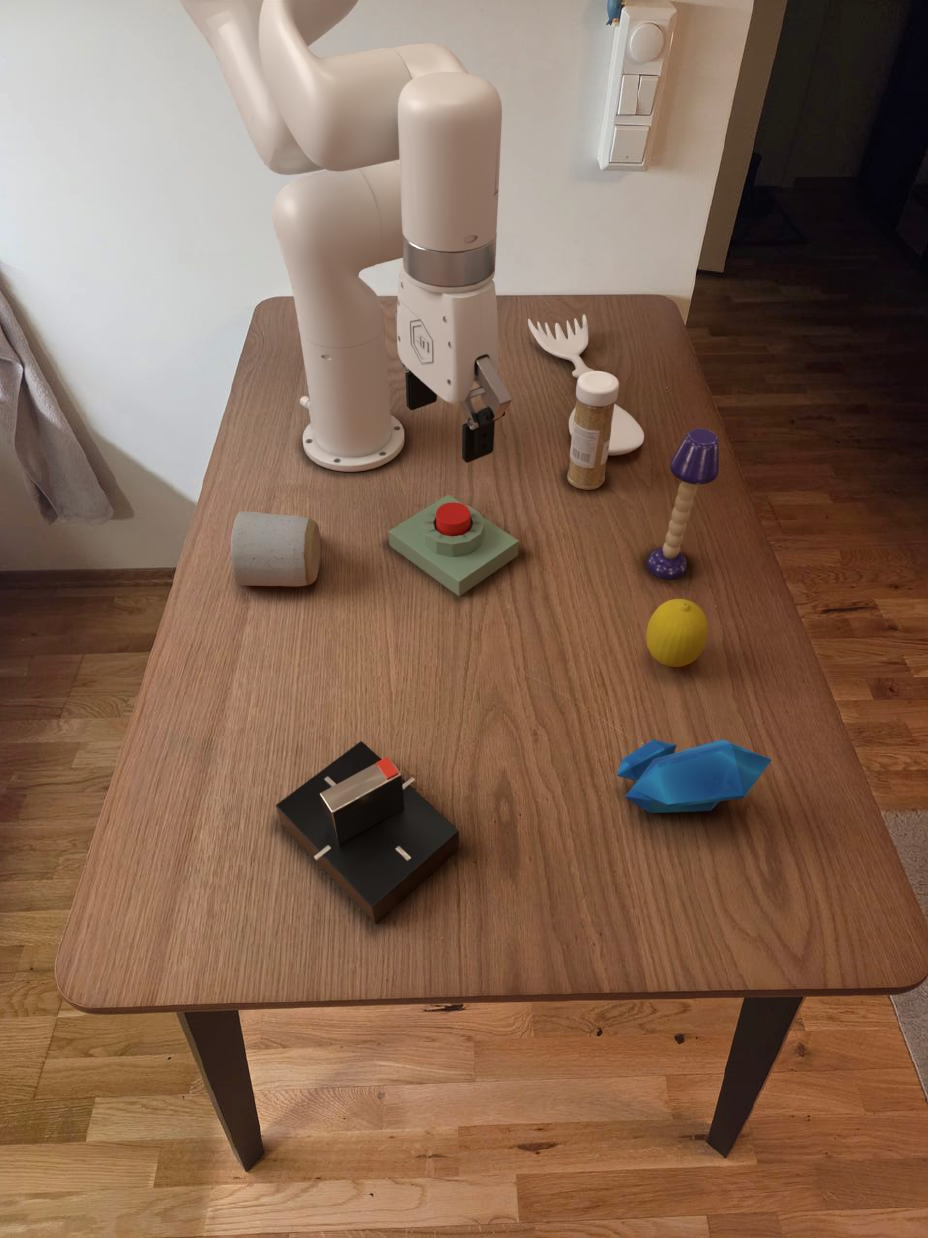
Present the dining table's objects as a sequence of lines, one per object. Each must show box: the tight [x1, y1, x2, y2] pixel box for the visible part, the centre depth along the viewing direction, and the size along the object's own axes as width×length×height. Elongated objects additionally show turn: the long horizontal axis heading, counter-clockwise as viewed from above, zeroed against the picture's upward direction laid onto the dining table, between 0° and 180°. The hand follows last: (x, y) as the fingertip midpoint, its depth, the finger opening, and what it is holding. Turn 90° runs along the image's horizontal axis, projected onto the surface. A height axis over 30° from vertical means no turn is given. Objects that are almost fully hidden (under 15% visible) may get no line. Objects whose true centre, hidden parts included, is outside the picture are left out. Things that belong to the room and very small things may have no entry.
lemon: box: [645, 598, 709, 668], centre depth 81 cm, size 6×6×8 cm
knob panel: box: [275, 740, 460, 925], centre depth 69 cm, size 12×10×3 cm
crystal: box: [616, 738, 772, 814], centre depth 70 cm, size 7×9×12 cm
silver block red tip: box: [320, 756, 405, 845], centre depth 66 cm, size 6×2×5 cm, turn 124°
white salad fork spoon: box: [527, 313, 645, 456], centre depth 114 cm, size 9×32×4 cm, turn 10°
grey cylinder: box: [230, 510, 321, 587], centre depth 90 cm, size 11×8×8 cm
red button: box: [436, 502, 470, 537], centre depth 91 cm, size 4×4×2 cm
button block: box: [388, 494, 520, 597], centre depth 93 cm, size 11×9×4 cm
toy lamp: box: [646, 428, 720, 580], centre depth 86 cm, size 5×5×17 cm
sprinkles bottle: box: [566, 370, 620, 491], centre depth 98 cm, size 5×5×14 cm
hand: (448, 429), depth 82 cm, fingers open, 9 cm apart
